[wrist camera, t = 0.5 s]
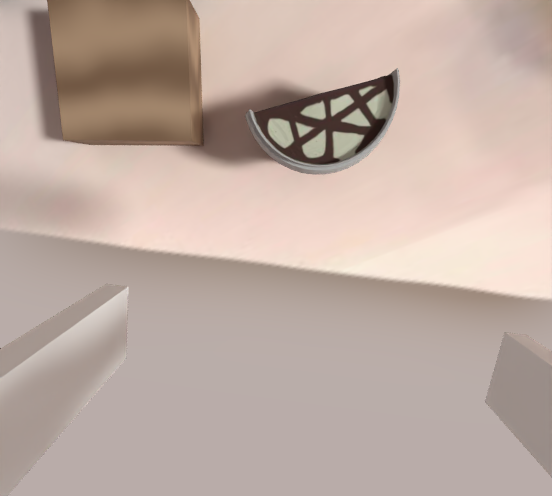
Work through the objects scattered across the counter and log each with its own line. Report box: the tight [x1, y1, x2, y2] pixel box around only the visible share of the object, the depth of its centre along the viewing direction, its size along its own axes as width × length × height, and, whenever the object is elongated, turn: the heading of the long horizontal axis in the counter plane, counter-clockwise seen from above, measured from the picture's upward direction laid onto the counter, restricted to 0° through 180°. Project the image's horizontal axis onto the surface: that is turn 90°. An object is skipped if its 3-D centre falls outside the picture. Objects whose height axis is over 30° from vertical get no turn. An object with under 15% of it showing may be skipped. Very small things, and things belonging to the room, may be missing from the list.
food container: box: [245, 68, 400, 174], centre depth 31 cm, size 12×6×10 cm, turn 104°
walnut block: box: [47, 0, 204, 146], centre depth 33 cm, size 12×12×5 cm
